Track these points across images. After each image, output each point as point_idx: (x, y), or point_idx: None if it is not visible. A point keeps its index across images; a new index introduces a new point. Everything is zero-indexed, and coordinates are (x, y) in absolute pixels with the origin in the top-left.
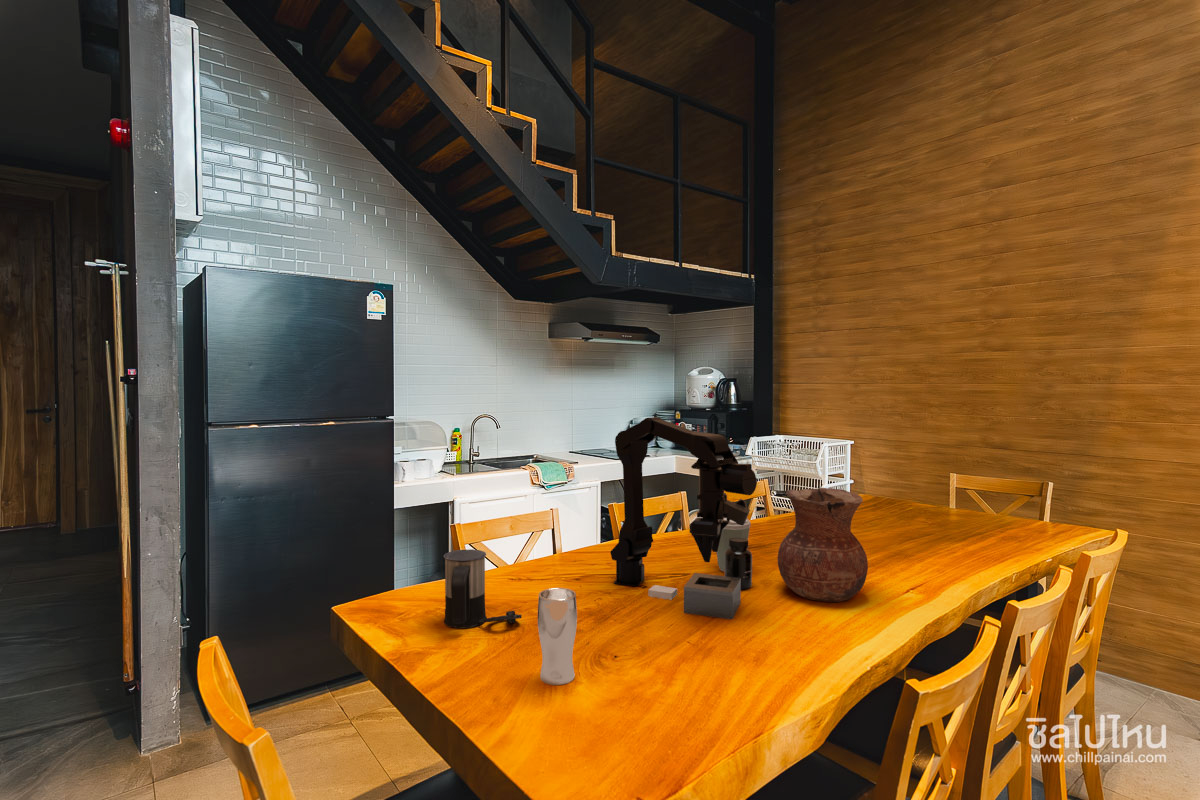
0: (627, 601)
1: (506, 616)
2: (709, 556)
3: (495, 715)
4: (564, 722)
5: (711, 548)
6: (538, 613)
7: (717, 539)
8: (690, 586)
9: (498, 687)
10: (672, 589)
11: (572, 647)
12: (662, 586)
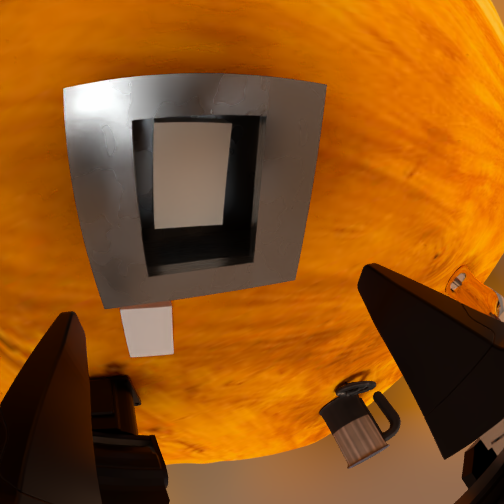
0: (224, 353)
1: (374, 384)
2: (409, 282)
3: (479, 279)
4: (497, 237)
5: (465, 306)
6: None
7: (56, 410)
8: (287, 263)
9: None
10: (135, 316)
11: (484, 286)
12: (128, 342)
